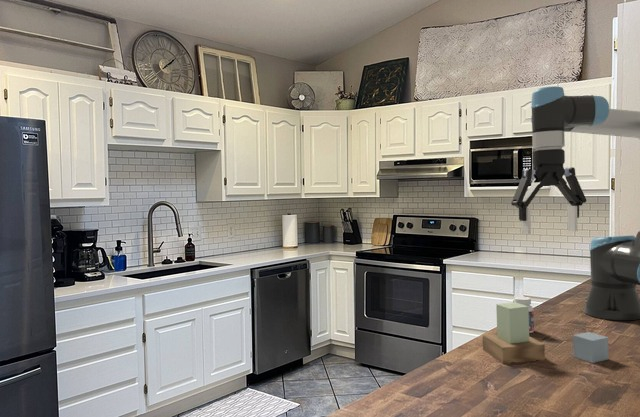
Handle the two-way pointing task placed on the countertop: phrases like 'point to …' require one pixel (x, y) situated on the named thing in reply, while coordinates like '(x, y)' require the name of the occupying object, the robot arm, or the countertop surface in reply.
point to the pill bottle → (527, 302)
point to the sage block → (512, 322)
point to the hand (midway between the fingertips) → (549, 232)
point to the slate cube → (590, 347)
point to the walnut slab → (513, 349)
